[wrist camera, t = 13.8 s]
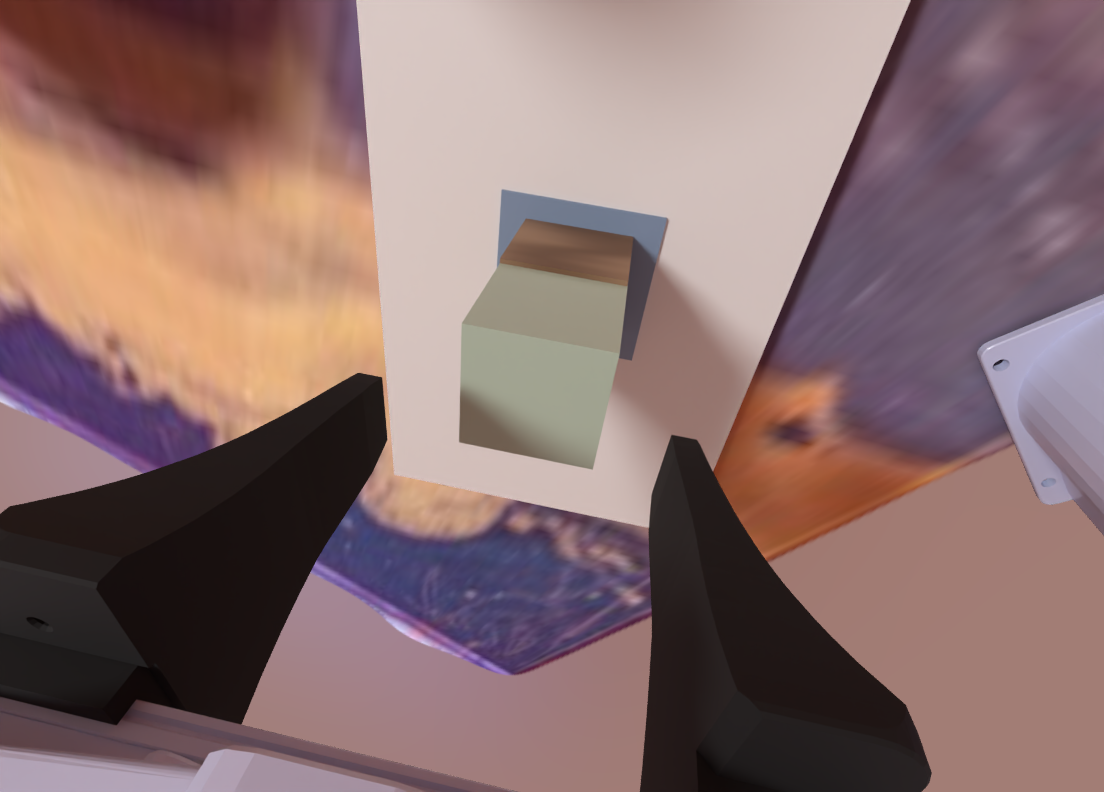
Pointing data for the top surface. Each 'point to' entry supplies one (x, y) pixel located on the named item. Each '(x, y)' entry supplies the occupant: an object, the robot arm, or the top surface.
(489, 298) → the sage block
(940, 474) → the top surface
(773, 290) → the white flat panel
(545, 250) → the walnut block
